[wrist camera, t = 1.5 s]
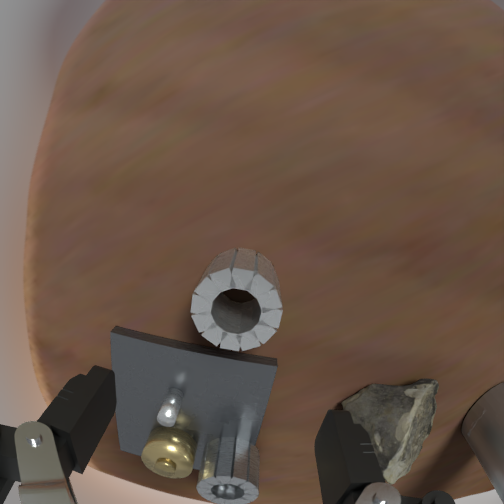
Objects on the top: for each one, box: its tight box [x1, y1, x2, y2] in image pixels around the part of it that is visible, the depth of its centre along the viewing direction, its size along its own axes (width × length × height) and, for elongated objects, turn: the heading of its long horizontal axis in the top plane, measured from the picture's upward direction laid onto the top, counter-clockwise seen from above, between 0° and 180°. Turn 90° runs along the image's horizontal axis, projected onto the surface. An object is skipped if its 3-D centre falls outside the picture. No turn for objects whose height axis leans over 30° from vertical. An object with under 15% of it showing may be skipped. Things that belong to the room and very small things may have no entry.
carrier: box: [111, 326, 278, 478], centre depth 25 cm, size 14×16×5 cm
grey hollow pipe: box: [196, 437, 260, 504], centre depth 25 cm, size 6×6×5 cm
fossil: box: [341, 379, 439, 484], centre depth 25 cm, size 11×9×10 cm
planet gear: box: [191, 248, 283, 351], centre depth 22 cm, size 6×6×5 cm
